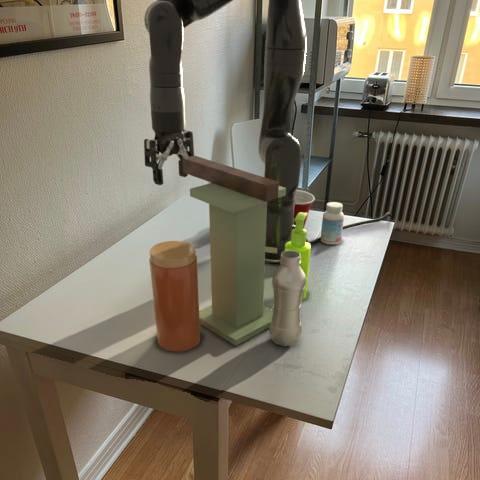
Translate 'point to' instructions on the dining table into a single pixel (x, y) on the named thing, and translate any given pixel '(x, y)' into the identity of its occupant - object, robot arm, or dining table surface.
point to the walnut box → (231, 178)
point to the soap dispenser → (300, 246)
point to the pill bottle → (332, 223)
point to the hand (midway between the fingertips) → (171, 180)
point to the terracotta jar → (175, 294)
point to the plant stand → (236, 263)
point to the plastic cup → (302, 204)
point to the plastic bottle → (287, 299)
